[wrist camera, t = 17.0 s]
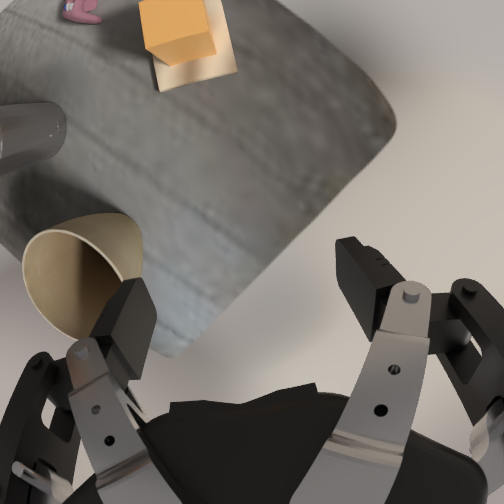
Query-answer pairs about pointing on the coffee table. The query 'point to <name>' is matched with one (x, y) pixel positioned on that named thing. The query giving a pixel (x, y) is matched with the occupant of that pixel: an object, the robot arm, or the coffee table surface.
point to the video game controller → (81, 11)
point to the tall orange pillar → (177, 30)
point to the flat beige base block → (202, 66)
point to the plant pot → (81, 268)
